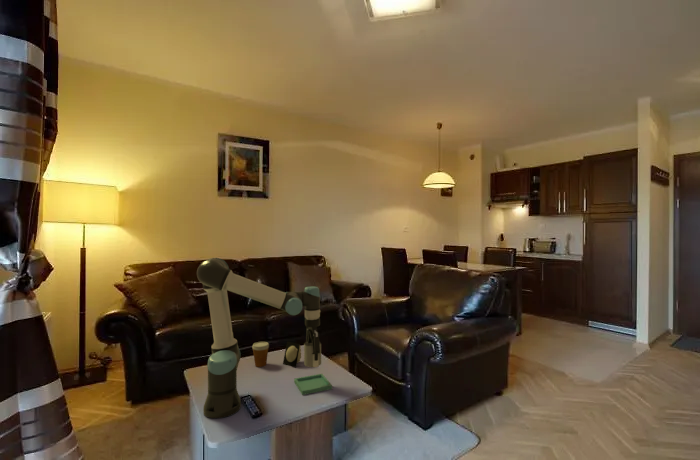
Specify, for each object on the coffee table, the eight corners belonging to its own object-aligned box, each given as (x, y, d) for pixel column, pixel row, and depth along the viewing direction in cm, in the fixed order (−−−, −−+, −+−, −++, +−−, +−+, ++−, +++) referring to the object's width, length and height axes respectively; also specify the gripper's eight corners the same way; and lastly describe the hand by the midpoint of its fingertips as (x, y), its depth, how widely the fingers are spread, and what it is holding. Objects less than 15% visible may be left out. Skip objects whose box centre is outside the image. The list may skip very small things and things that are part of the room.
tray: (302, 395, 158) (302, 391, 158) (294, 382, 172) (294, 378, 172) (332, 388, 164) (332, 385, 164) (322, 376, 178) (322, 373, 178)
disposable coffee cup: (251, 362, 197) (251, 342, 197) (268, 361, 200) (268, 340, 200) (252, 369, 188) (252, 347, 188) (269, 367, 191) (269, 345, 191)
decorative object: (291, 363, 201) (304, 367, 196) (279, 364, 193) (292, 368, 188) (295, 341, 205) (307, 344, 199) (283, 341, 196) (296, 344, 191)
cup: (318, 367, 163) (318, 347, 163) (302, 366, 165) (301, 346, 165) (323, 361, 171) (322, 341, 171) (307, 360, 173) (307, 340, 173)
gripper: (326, 322, 160) (327, 369, 160) (313, 312, 179) (313, 355, 179) (311, 323, 157) (312, 372, 157) (299, 314, 176) (299, 357, 176)
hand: (312, 363), depth 168 cm, fingers closed on cup, 8 cm apart
